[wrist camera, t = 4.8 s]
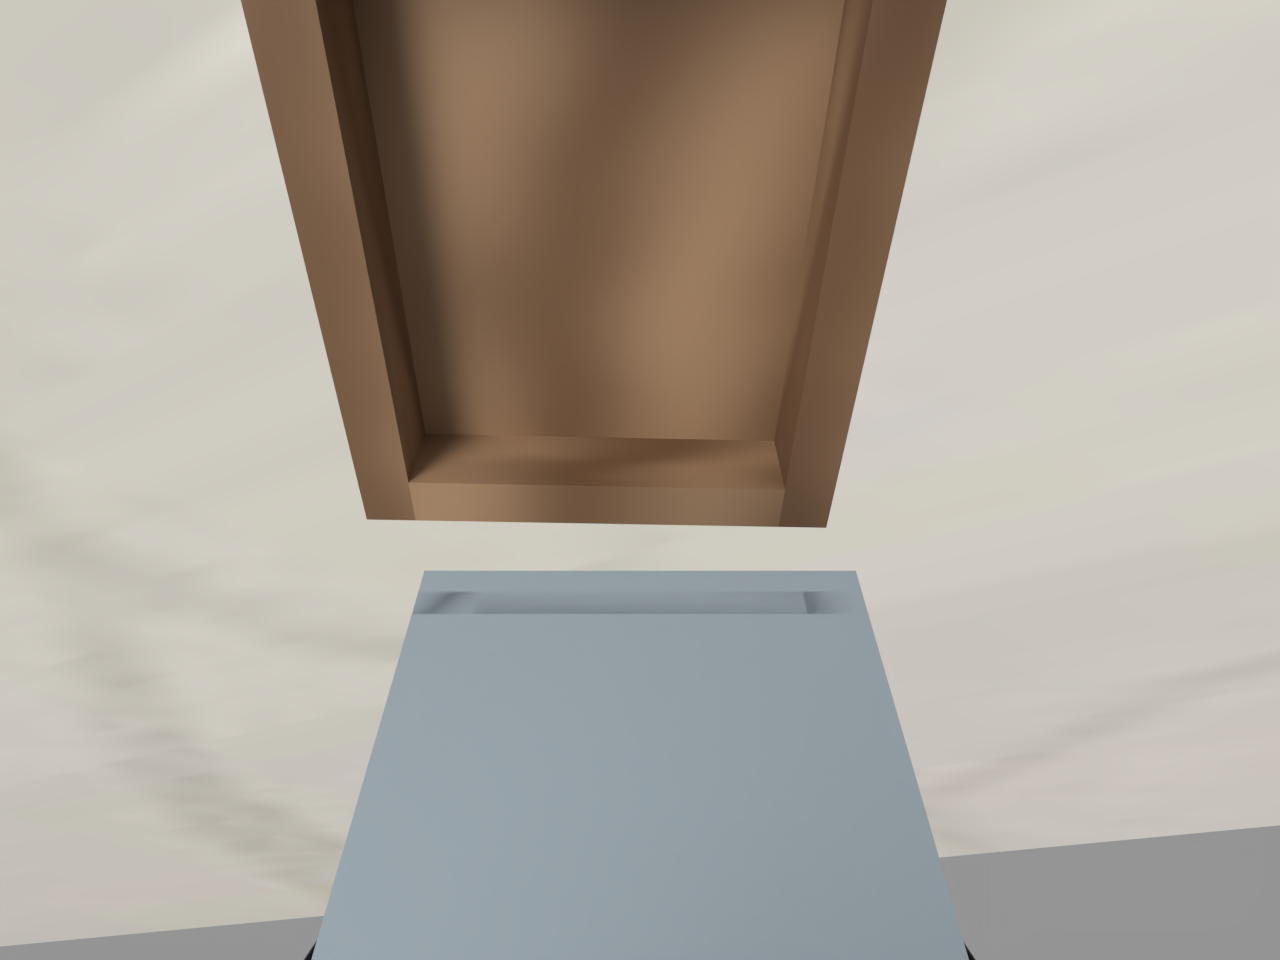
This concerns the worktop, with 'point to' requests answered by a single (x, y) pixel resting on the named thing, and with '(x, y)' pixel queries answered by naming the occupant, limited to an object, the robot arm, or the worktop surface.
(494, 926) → the box
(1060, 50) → the worktop surface
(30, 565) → the worktop surface
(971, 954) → the robot arm
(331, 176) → the wooden tray
